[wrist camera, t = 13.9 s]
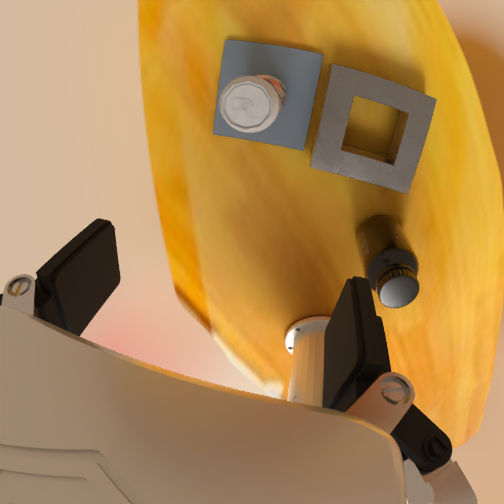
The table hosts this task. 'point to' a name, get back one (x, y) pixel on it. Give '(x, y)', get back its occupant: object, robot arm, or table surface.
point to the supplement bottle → (388, 261)
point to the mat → (289, 73)
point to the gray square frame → (360, 161)
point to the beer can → (252, 102)
